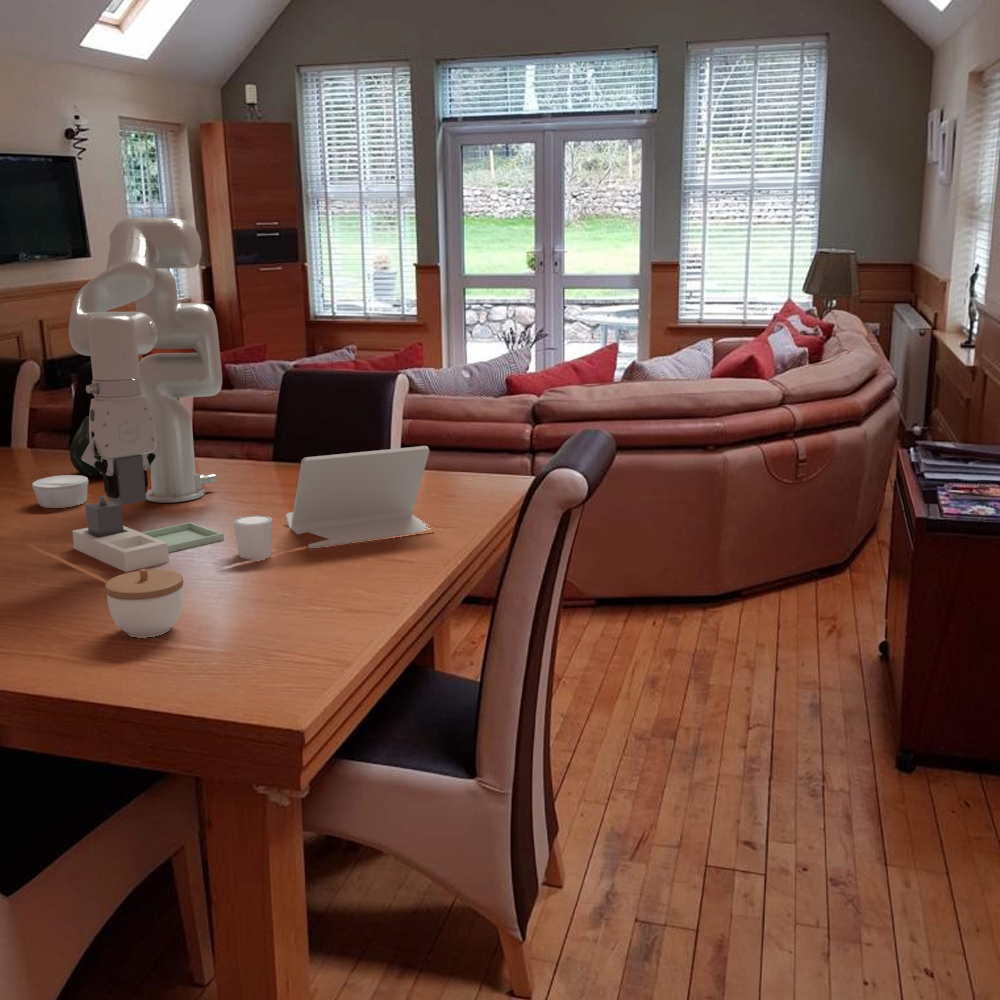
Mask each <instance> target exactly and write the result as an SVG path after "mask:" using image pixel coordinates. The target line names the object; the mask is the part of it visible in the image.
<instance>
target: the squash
mask: <svg viewBox="0 0 1000 1000" xmlns="http://www.w3.org/2000/svg"><path fill="white" fill-rule="evenodd" d="M89 443H90V439H89V416H88V415H87V416H85V418H83V420H82V422H81V424H80V426H79V428H78V429H77V431H76V433H75V434H74V437H73V439H72V441H71V443H70V446H69V458H70V462H71V465H72V466H73V467H74V469H76V470H77V472H79V473H80V474H82V475H86V476H90V477H93V478H97V476H99V477H101V476H102V477H103V474H101V473H100V472H99V471H98V470H97V469H96V468H94V467H93V466H92V465H90V464H88V463H86V462H84V461H82V459H81V457H82V455H83V454H84V452H85V450H86V448H87V446H88V445H89ZM94 458H95V459H97V460H99V461H101V456H95V455H94Z"/></svg>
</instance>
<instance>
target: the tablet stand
mask: <svg viewBox="0 0 1000 1000" xmlns="http://www.w3.org/2000/svg"><path fill="white" fill-rule="evenodd" d="M429 454H430V449H429V446H427V445H420V446H410V447H400V448H399V447H398V448H390V449H379V450H368V451H360V452H359V451H357V452H349V453H348V452H347V453H339V454H336V453H335V454H329V455H328V454H327V455H317V456H307V457H303V458H302V459H301V461H300V462H301V463H300V467H299V474H298V479H297V480H298V481H297V487H296V492H295V498H294V505H293V509H292V510H293V511H290V512H287V513H286V514H285V522H286V524H287V526H288V527H289V528H290V530H292V531H293V532H294V533H295V534H296V535H302V534H305V533H310V534H312V535H316V536H319V537H321V538H325V540H320V541H316V542H313V543H310V544H309V543H308V544H306V545H307V546H308V547H309V548H316V547H324V546H331V545H338V544H347V543H352V542H359V541H368V540H374V539H381V538H387V537H393V536H400V535H406V534H411V533H417V532H424V531H426V530H428V529H431V528H428V526H430V525H429V524H427V523H426V522H424V521H423V520H421V519H420V518H418V517H416V516H415V515H414V507H415V504H416V499H417V496H418V493H419V489H420V486H421V483H422V479H423V475H424V472H425V468H426V464H427V461H428V457H429V456H430V455H429ZM422 522H424V523H422ZM425 523H426V524H425ZM426 525H428V526H427V527H426ZM425 528H427V529H425ZM429 531H431V530H429ZM307 546H306V547H307ZM309 548H308V549H309Z"/></svg>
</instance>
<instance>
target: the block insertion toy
mask: <svg viewBox="0 0 1000 1000" xmlns="http://www.w3.org/2000/svg"><path fill="white" fill-rule="evenodd" d="M98 498H99V502H94V503H89V504H85V510H86V511H85V512H86V521H87V527H85V528H80V529H74V530H72V538H73V549H74V550H76V551H78V552H81V553H83V554H85V555H87V556H89V557H92V558H94V559H96V560H99V561H100V562H103V563H104V564H107V565H109V566H112V567H114V568H115V569H118V570H121V571H123V572H125V573H129V572H134V571H138V570H141V569H146V568H149V567H153V566H157V565H161V564H166V563H169V562H170V558H169V557H170V555H169V553H168V543H166V542H164V541H161V540H159V539H156V538H153V537H151V536H148V535H146V534H143V533H142V532H140V531H138V530H136V529H132V528H130V527H127V526H125V525H124V522H123V521H124V519H123V512H122V505H119V504H116V503H113V502H110V501H109V500H107V495H104V494H103V495H99V496H98Z"/></svg>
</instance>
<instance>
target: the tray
mask: <svg viewBox="0 0 1000 1000" xmlns="http://www.w3.org/2000/svg"><path fill="white" fill-rule="evenodd" d="M141 533H143V534H146V535H148V536H151V537H153V538H156V539H159V540H161V541H164V542H166V543H168V554H169V553H170V554H171V553H174V552H179V551H183V550H187V549H192V548H196V547H200V546H203V545H204V546H205V545H207V544H208V545H209V544H213V543H216V542H221V541H224V540H225V534H224V533H223V532H220V531H217V530H215V529H212V528H209V527H207V526H203V525H202V524H201V525H200V524H198V523H195V522H191V521H190V522H189V521H188V522H185V523H184V522H183V523H180V524H175V525H171V526H165V527H162V528H156V529H152V530H147V531H142V532H141Z"/></svg>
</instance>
